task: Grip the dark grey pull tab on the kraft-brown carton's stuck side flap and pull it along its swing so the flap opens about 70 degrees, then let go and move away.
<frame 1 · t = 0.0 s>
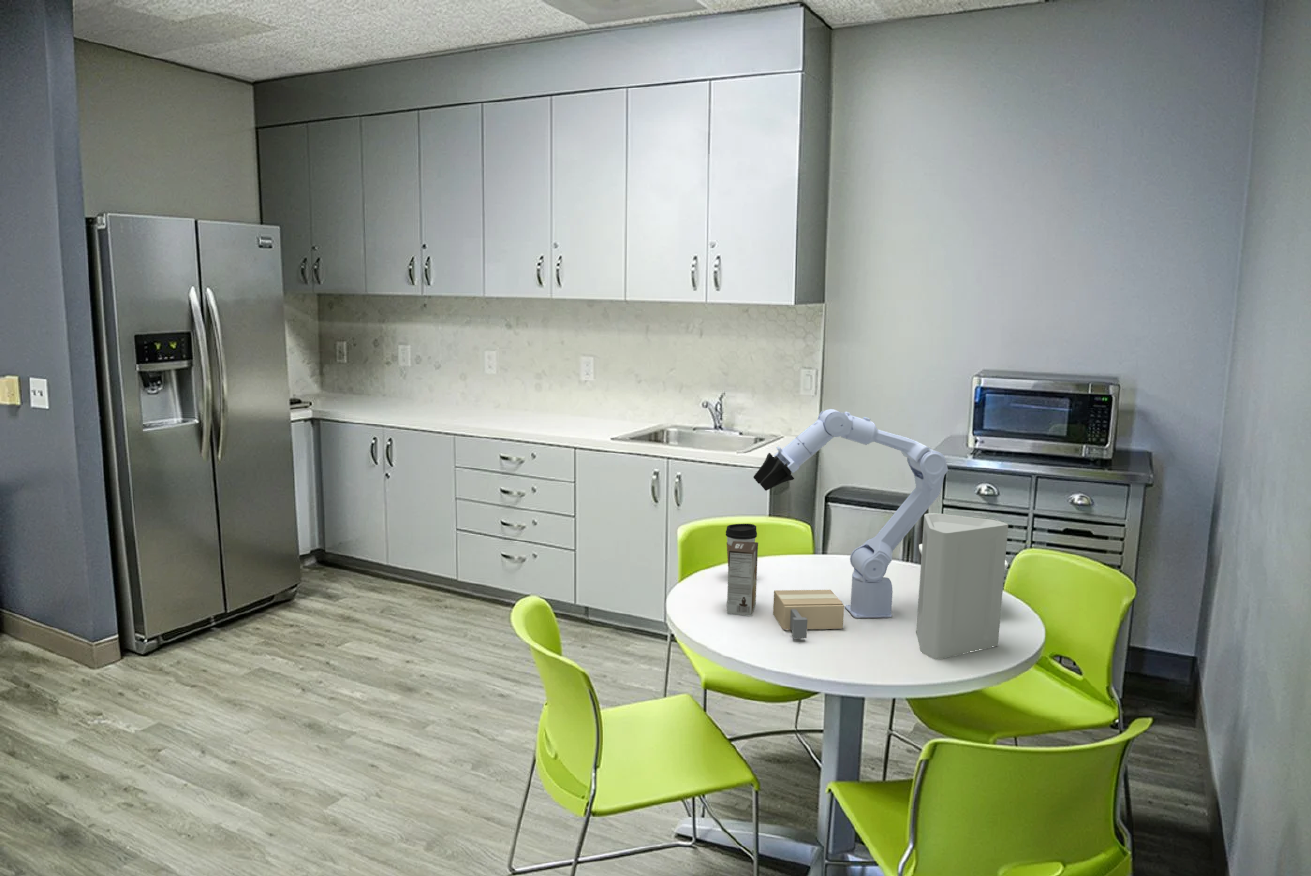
hand: (759, 484, 219), 32 cm above the table, tool tilted 50°, fingers open, 7 cm apart
bowl: (957, 607, 233), on the table
flap: (817, 622, 211), point 3 cm above the table, hinge at 0.0°
carton: (806, 620, 220), on the table
coffee box: (741, 609, 228), on the table
coffee cup: (739, 580, 251), on the table
grey triangular prism: (943, 641, 210), on the table
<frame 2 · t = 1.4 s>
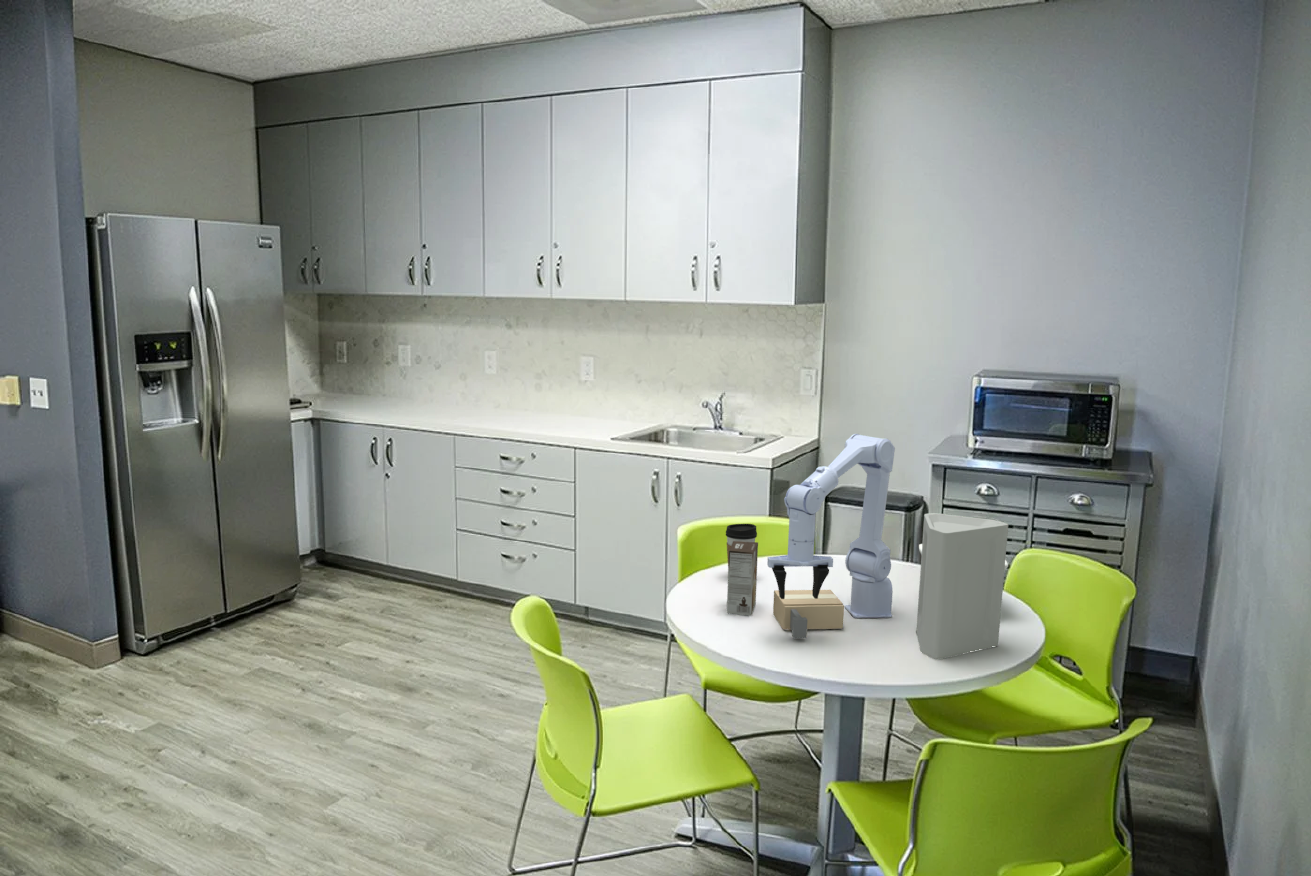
hand: (798, 597, 209), 9 cm above the table, tool pointing down, fingers open, 7 cm apart
nothing on the table moved.
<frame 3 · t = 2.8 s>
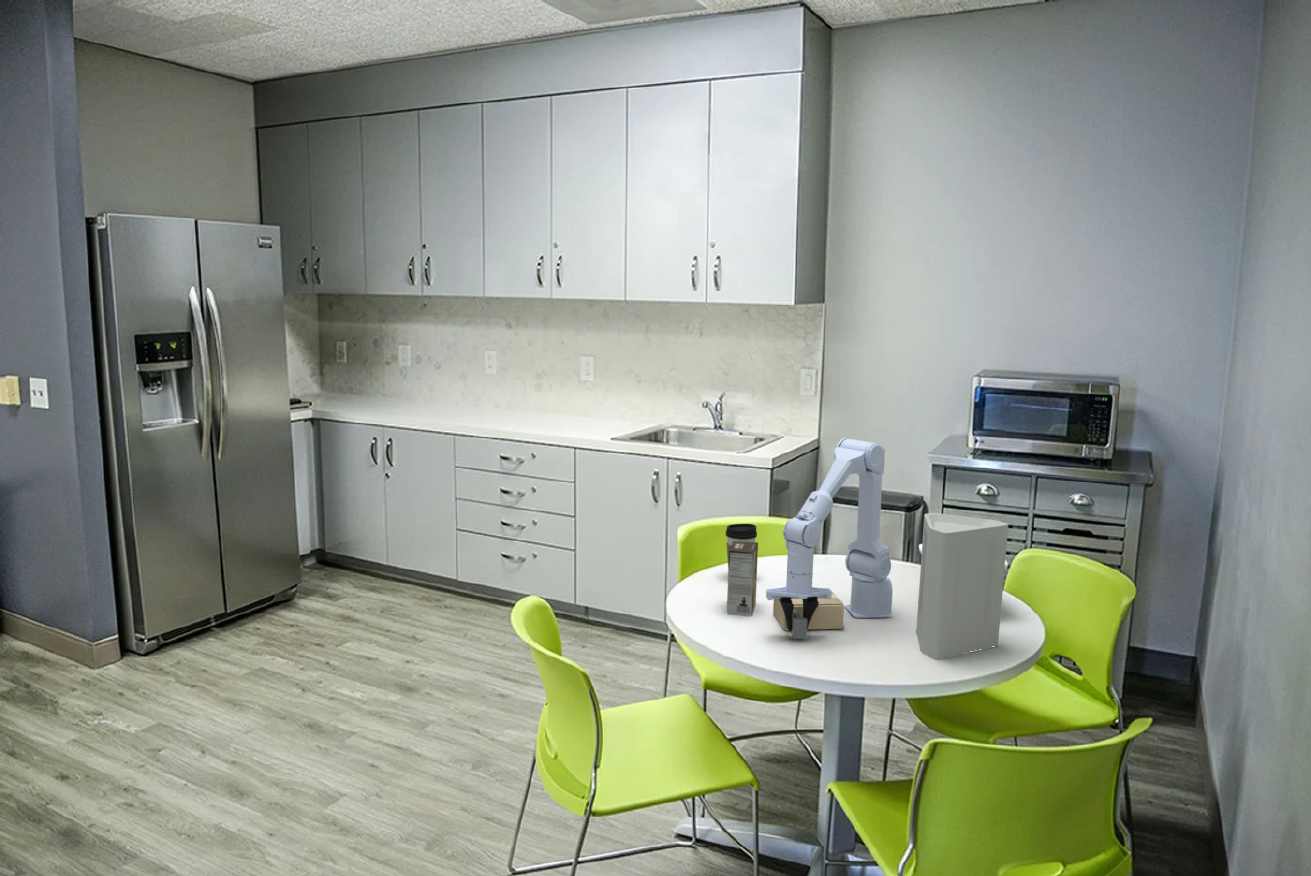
hand: (797, 629, 210), 2 cm above the table, tool pointing down, fingers closed on flap, 3 cm apart
flap: (817, 622, 211), point 3 cm above the table, hinge at 0.0°, touching gripper
everything else where it was.
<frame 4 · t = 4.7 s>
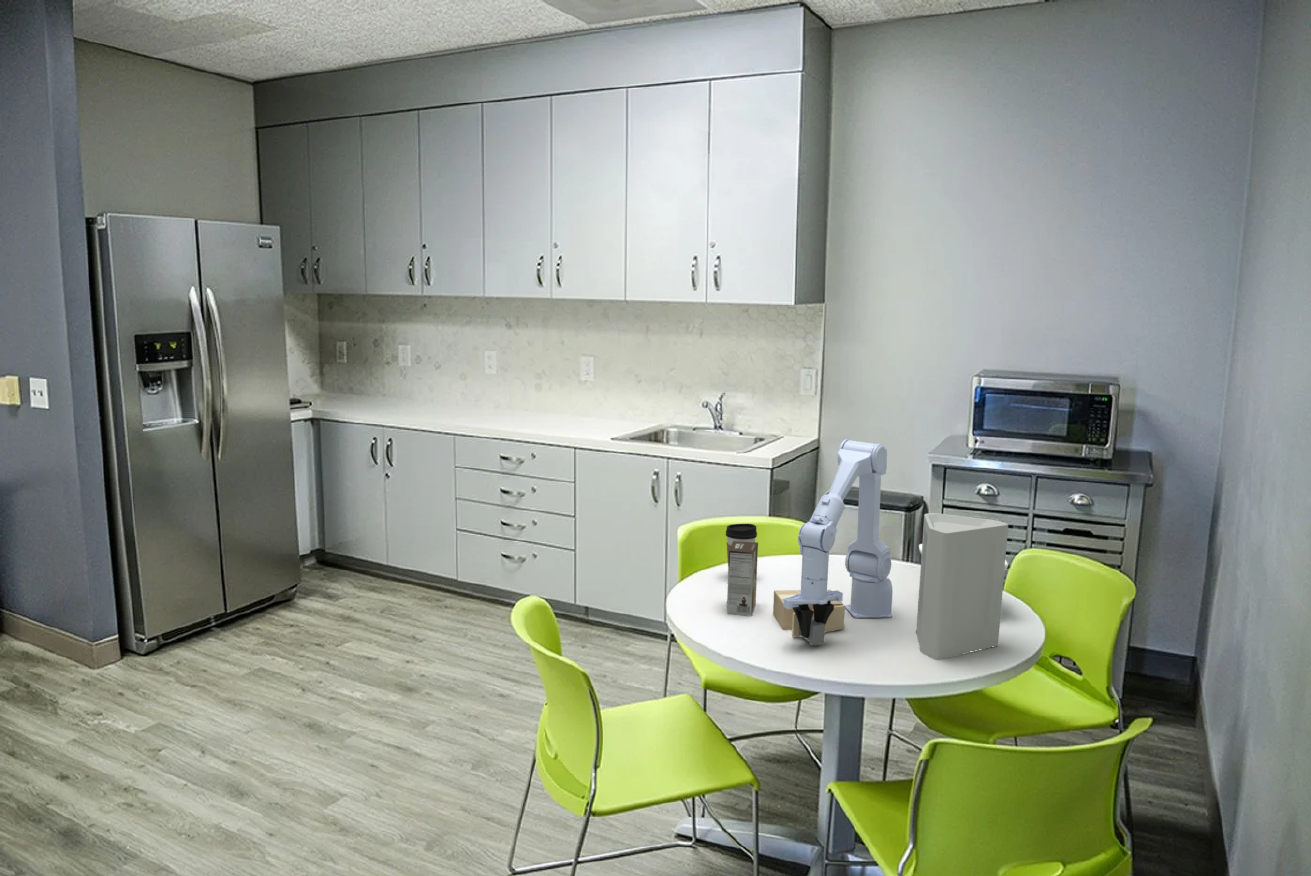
hand: (811, 635, 206), 2 cm above the table, tool pointing down, fingers closed on flap, 3 cm apart
flap: (827, 625, 209), point 3 cm above the table, hinge at 19.7°, touching gripper
everything else where it was.
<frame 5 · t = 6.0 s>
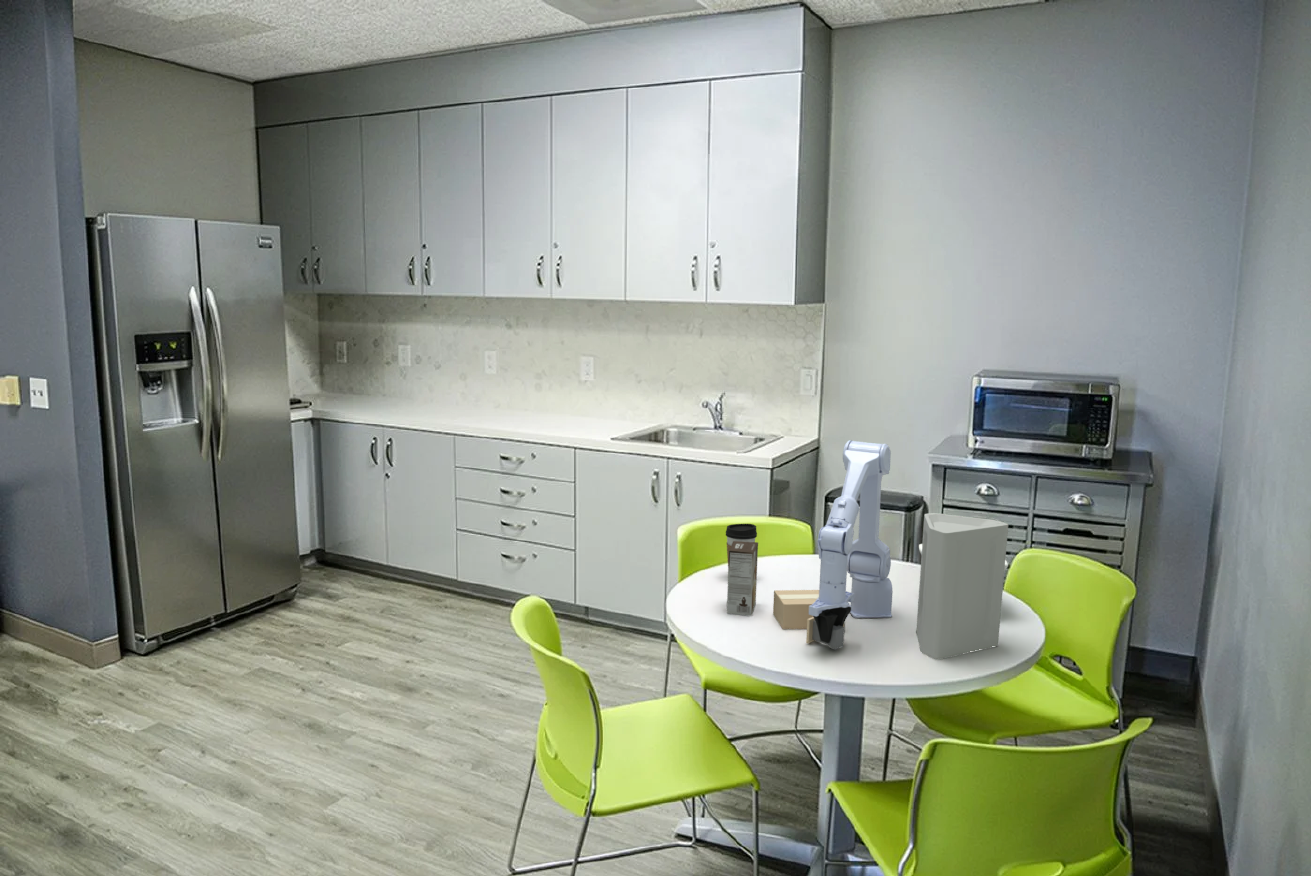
hand: (829, 639, 204), 2 cm above the table, tool pointing down, fingers open, 3 cm apart
flap: (838, 627, 208), point 3 cm above the table, hinge at 38.8°, touching gripper
everything else where it was.
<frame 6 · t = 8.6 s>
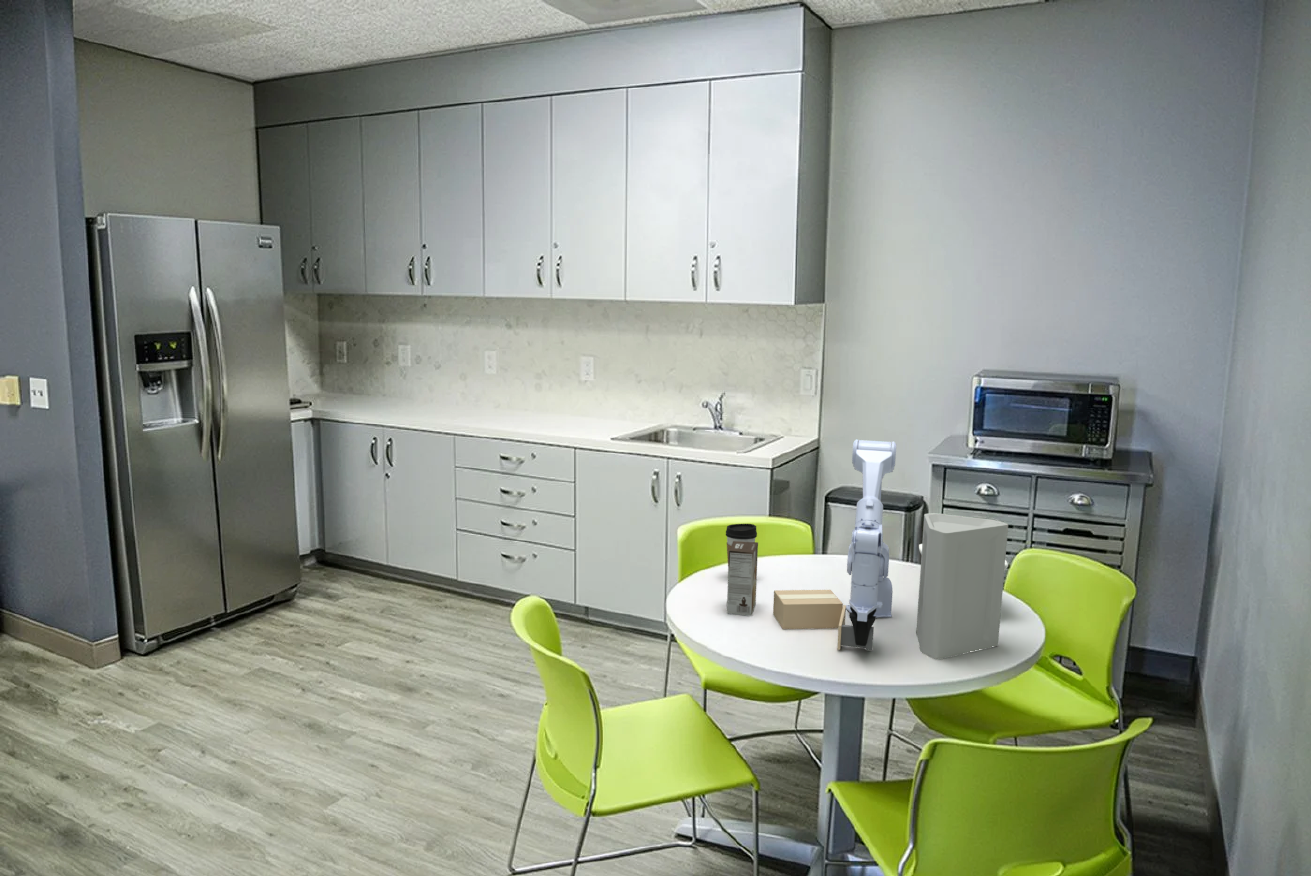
hand: (861, 641, 203), 2 cm above the table, tool pointing down, fingers closed on flap, 3 cm apart
flap: (857, 628, 208), point 3 cm above the table, hinge at 68.5°, touching gripper
everything else where it was.
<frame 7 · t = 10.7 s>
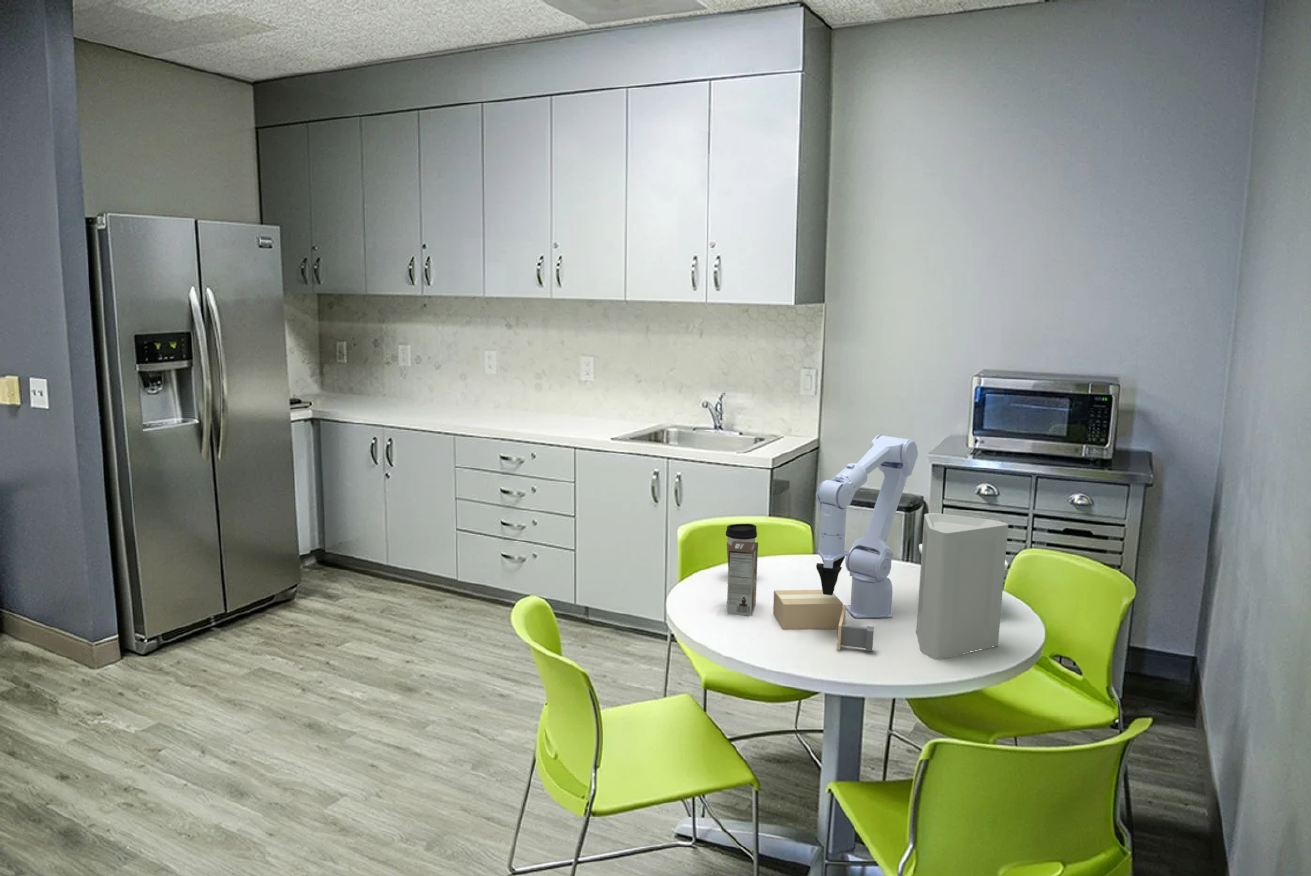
hand: (829, 589, 215), 9 cm above the table, tool pointing down, fingers open, 7 cm apart
flap: (857, 628, 208), point 3 cm above the table, hinge at 68.5°
everything else where it was.
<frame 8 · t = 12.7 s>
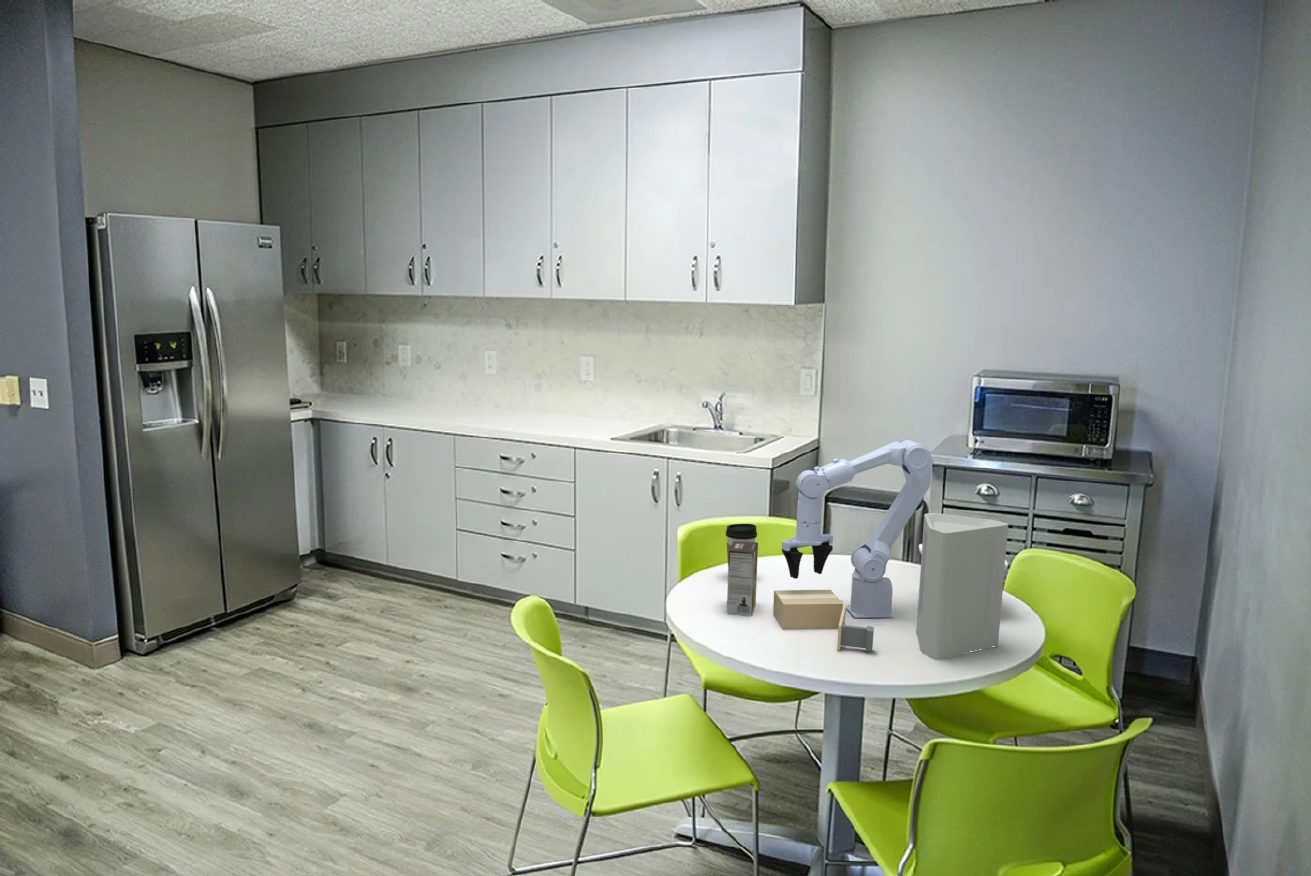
hand: (806, 575, 225), 9 cm above the table, tool pointing down, fingers open, 7 cm apart
nothing on the table moved.
at the end: flap at +68° (first picture: +0°); the gripper is holding nothing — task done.
